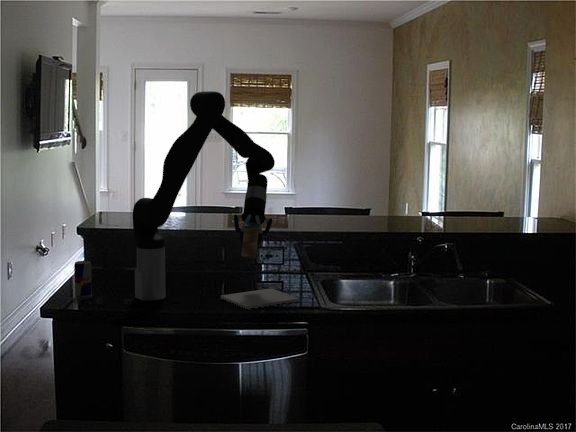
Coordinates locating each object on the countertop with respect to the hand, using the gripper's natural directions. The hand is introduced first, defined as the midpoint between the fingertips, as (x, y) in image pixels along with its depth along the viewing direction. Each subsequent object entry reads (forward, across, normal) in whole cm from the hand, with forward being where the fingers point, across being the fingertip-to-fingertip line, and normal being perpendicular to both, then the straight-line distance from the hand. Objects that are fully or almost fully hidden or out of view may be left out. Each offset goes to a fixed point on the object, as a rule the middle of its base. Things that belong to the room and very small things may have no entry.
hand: (250, 243), depth 277 cm
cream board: (+20, +5, 0) cm, 21 cm away
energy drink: (+24, -53, +6) cm, 58 cm away
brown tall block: (+2, 0, +5) cm, 5 cm away
